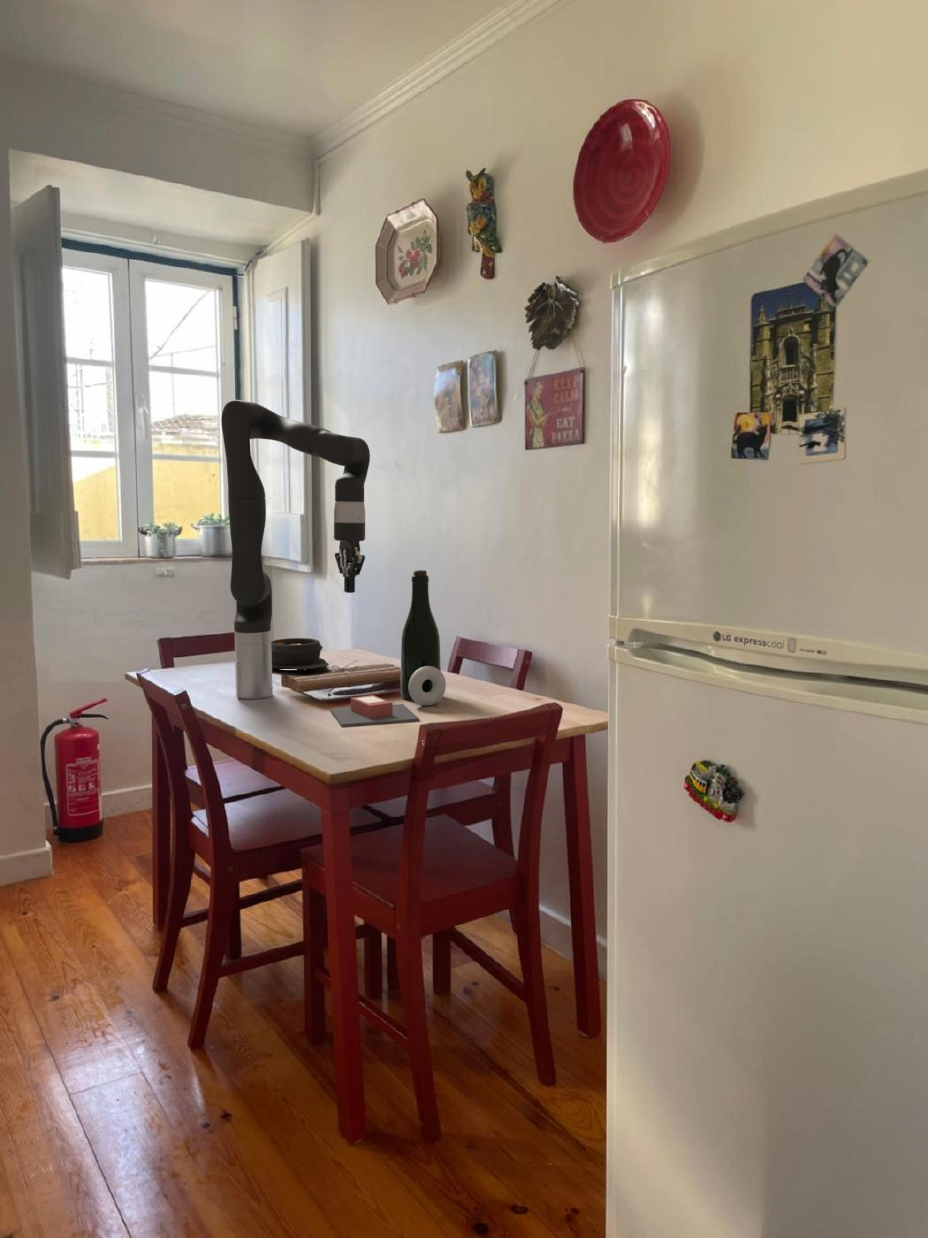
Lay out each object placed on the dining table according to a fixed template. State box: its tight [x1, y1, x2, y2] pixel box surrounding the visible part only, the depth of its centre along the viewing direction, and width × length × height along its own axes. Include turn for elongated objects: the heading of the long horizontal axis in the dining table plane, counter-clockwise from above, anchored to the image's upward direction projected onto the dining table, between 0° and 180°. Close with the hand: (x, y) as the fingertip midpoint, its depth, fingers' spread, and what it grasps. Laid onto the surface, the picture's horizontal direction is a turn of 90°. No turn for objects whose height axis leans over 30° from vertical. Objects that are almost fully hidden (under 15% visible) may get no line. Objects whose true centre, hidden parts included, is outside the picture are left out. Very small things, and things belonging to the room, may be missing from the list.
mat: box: [330, 703, 420, 728], centre depth 211 cm, size 18×16×1 cm
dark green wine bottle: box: [400, 569, 442, 701], centre depth 230 cm, size 10×10×33 cm
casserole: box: [271, 637, 330, 671], centre depth 274 cm, size 25×19×8 cm
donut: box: [408, 666, 447, 707], centre depth 222 cm, size 10×4×10 cm, turn 118°
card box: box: [350, 694, 394, 718], centre depth 212 cm, size 6×3×10 cm
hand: (349, 592), depth 218 cm, fingers closed
